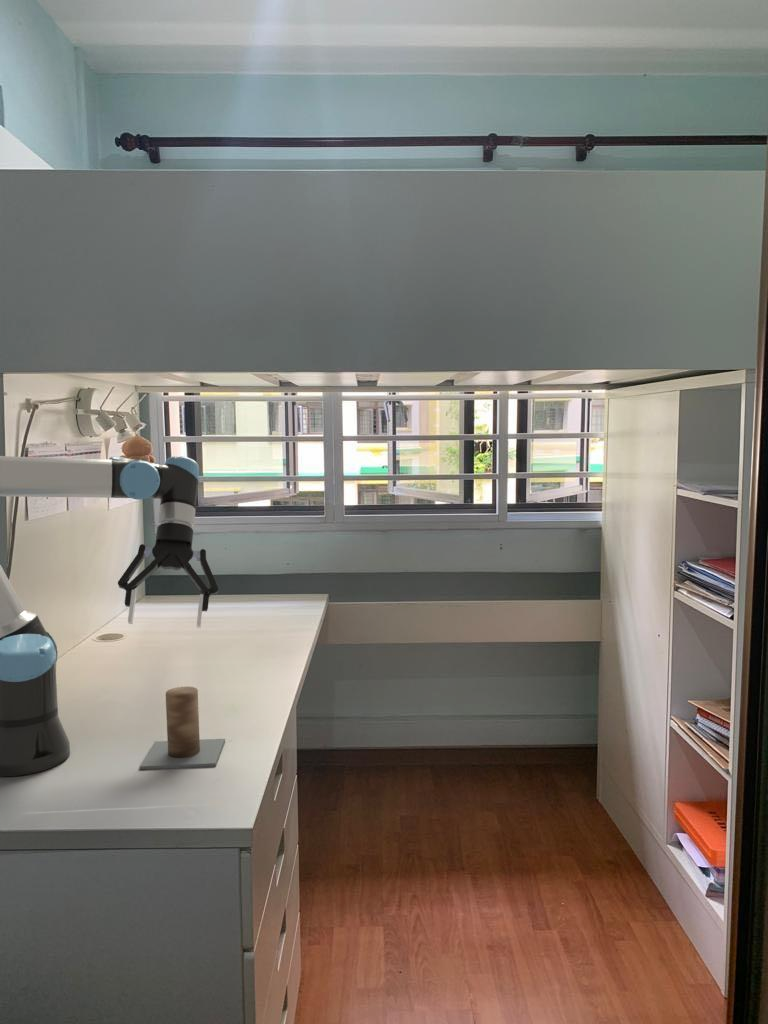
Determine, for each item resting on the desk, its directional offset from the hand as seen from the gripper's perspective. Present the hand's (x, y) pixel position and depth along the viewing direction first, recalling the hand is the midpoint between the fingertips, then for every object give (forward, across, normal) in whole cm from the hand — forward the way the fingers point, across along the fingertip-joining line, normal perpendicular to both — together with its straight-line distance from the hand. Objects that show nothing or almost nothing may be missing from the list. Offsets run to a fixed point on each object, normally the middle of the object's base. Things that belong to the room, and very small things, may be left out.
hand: (164, 624), depth 157 cm
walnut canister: (+25, -6, +2) cm, 26 cm away
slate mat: (+26, -6, +2) cm, 26 cm away
